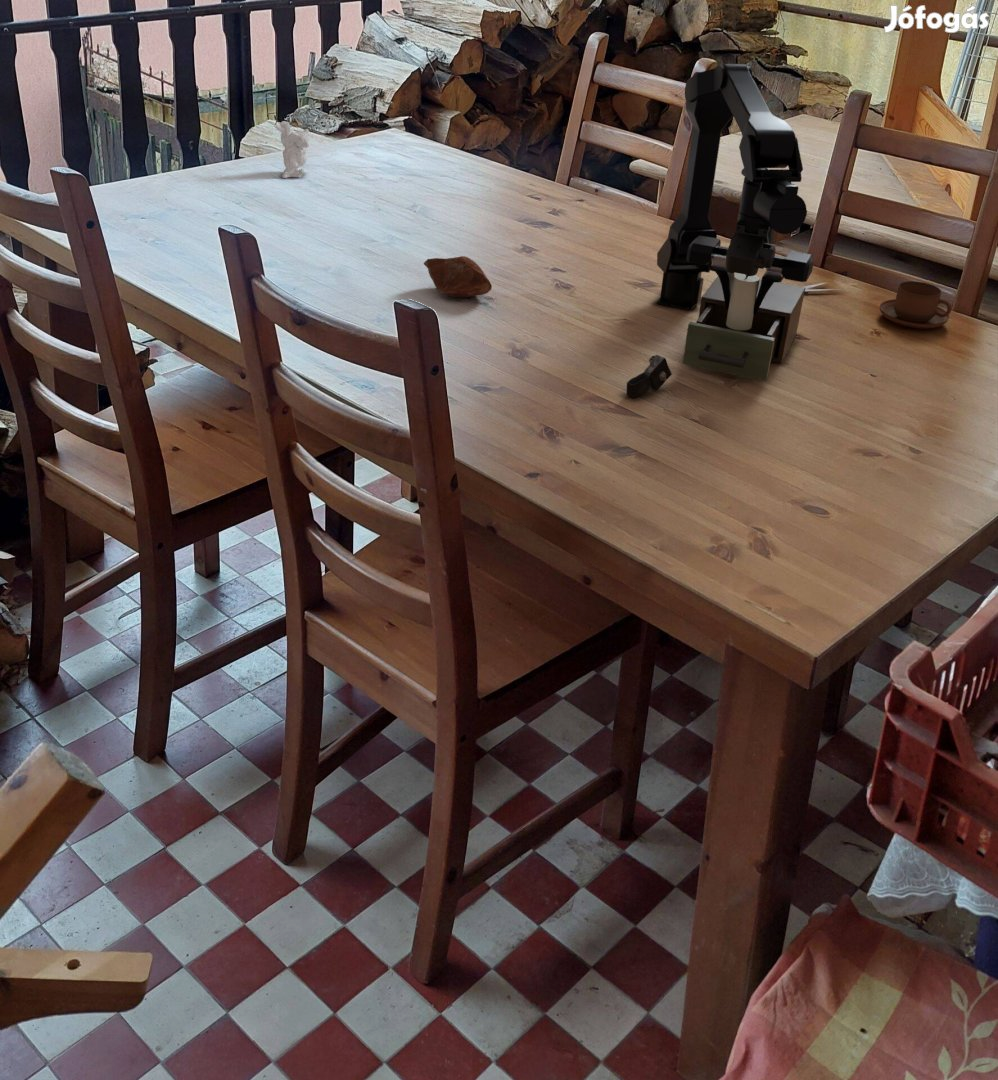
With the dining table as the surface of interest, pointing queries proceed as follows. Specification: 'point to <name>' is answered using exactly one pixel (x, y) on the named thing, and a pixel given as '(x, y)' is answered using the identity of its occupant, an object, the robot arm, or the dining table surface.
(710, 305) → the drawer
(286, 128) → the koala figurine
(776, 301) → the cabinet
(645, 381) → the padlock
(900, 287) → the cup and saucer
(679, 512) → the dining table surface
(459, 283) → the brown rock
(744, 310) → the candle
